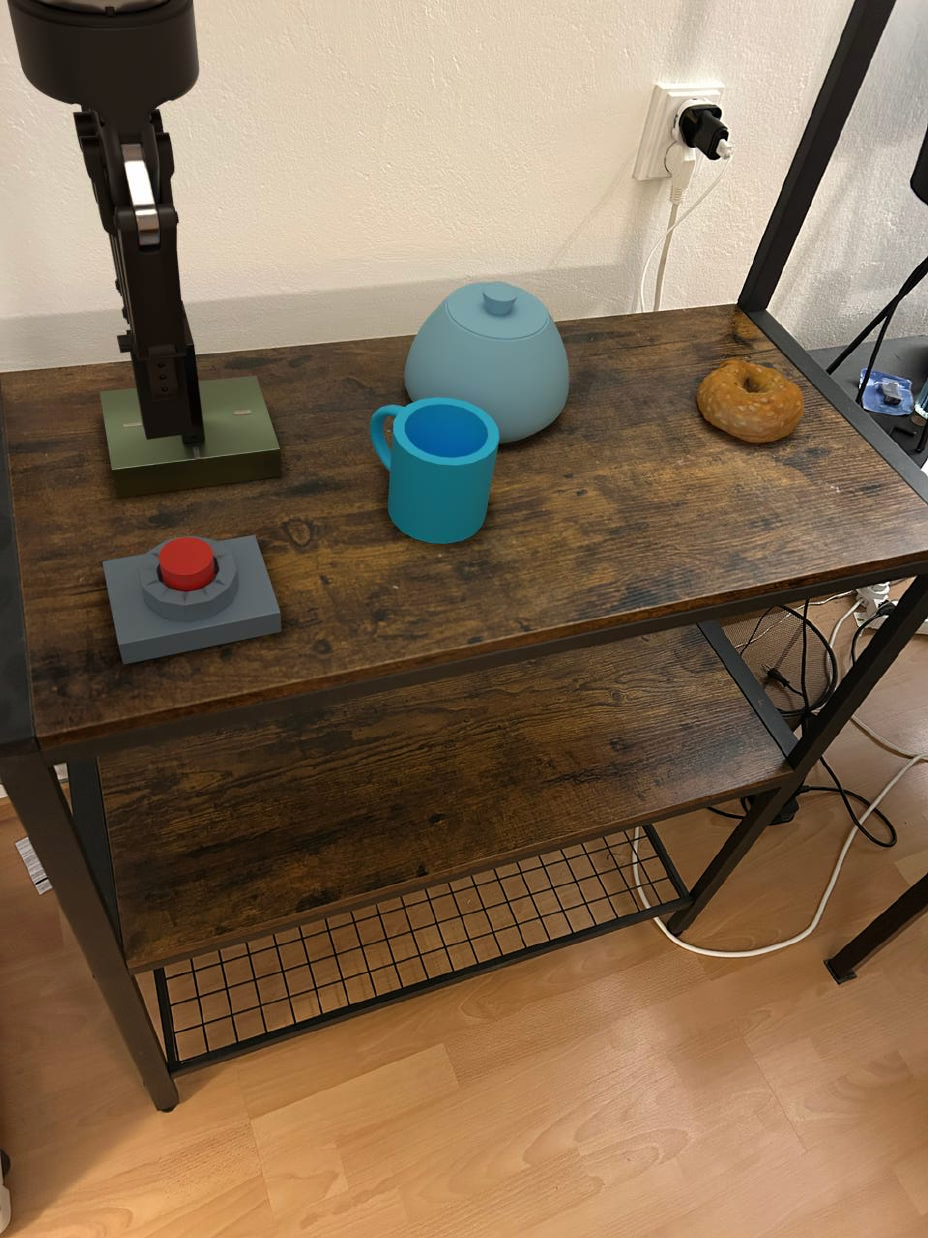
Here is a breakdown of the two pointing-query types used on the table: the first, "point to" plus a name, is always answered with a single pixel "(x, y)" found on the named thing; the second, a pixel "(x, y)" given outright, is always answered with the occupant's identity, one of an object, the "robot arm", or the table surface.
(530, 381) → the sugar bowl
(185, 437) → the black slab
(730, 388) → the bagel
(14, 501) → the table surface
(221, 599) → the button housing
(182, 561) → the button
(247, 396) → the dial panel
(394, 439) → the mug
